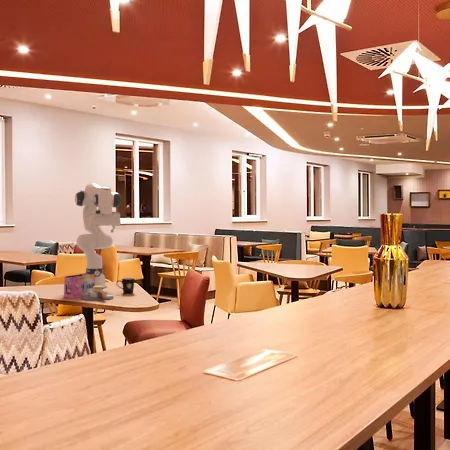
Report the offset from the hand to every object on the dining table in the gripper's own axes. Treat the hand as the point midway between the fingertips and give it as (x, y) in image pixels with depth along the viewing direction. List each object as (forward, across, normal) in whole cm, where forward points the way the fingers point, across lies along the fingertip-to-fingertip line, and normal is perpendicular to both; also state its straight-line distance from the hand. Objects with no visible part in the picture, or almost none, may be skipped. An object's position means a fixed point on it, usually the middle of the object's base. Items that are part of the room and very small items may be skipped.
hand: (105, 232), depth 372 cm
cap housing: (+42, +8, +9) cm, 44 cm away
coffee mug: (+42, -16, -4) cm, 45 cm away
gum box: (+42, +15, -7) cm, 45 cm away
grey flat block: (+41, +8, +13) cm, 44 cm away
